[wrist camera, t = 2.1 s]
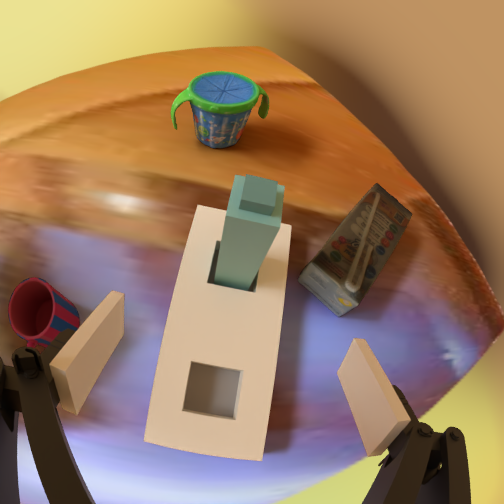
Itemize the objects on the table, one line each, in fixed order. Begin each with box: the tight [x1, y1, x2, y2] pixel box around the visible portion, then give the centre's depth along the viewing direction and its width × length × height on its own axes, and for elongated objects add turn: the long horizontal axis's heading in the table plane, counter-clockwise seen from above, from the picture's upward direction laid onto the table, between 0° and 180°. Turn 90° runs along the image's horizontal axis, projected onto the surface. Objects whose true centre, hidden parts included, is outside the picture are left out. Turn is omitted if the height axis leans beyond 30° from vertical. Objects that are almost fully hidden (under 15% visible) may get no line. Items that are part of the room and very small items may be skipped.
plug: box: [214, 174, 285, 291], centre depth 28 cm, size 4×4×16 cm
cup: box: [8, 278, 79, 348], centre depth 24 cm, size 7×10×7 cm
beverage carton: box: [298, 183, 412, 317], centre depth 37 cm, size 8×19×7 cm, turn 138°
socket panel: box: [144, 205, 291, 461], centre depth 31 cm, size 12×28×3 cm, turn 172°
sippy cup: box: [171, 71, 269, 148], centre depth 41 cm, size 16×10×10 cm
